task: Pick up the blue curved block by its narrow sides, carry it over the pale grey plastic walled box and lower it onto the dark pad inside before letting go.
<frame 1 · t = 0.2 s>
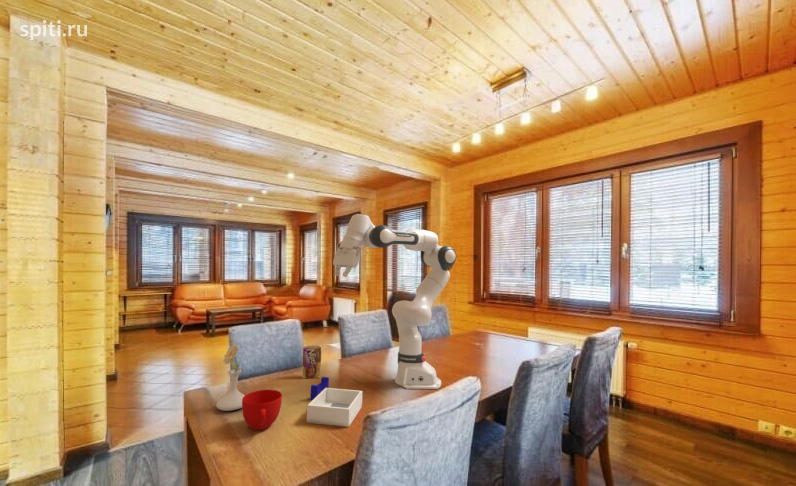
hand: (340, 276, 148), 52 cm above the table, tool tilted 20°, fingers open, 8 cm apart
ceramic cup: (261, 429, 115), on the table
blue curved block: (318, 395, 145), on the table
candy box: (311, 377, 168), on the table
flower in vase: (232, 408, 130), on the table
walled box: (335, 413, 127), on the table
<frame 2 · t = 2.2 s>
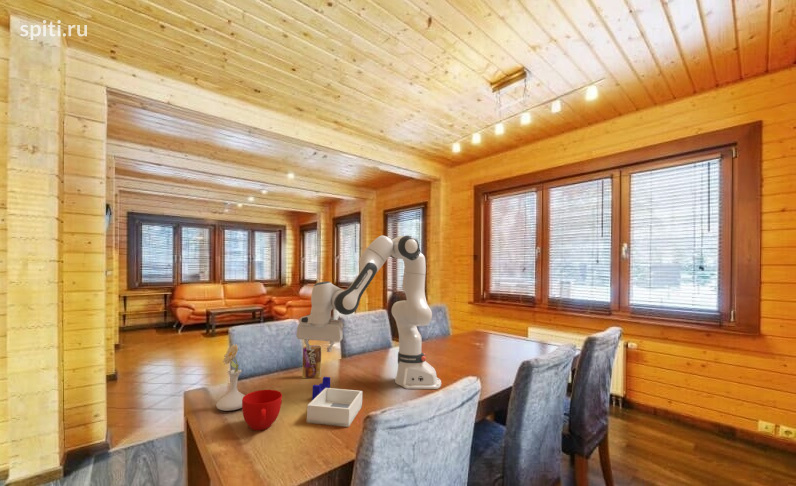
hand: (318, 350, 146), 19 cm above the table, tool pointing down, fingers open, 8 cm apart
nothing on the table moved.
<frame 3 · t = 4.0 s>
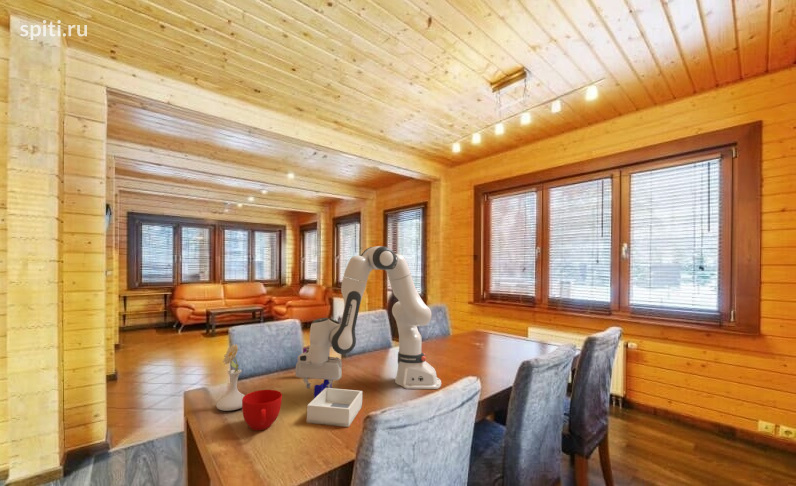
hand: (317, 388, 145), 3 cm above the table, tool pointing down, fingers open, 8 cm apart
blue curved block: (321, 395, 145), on the table, touching gripper
everything else where it was.
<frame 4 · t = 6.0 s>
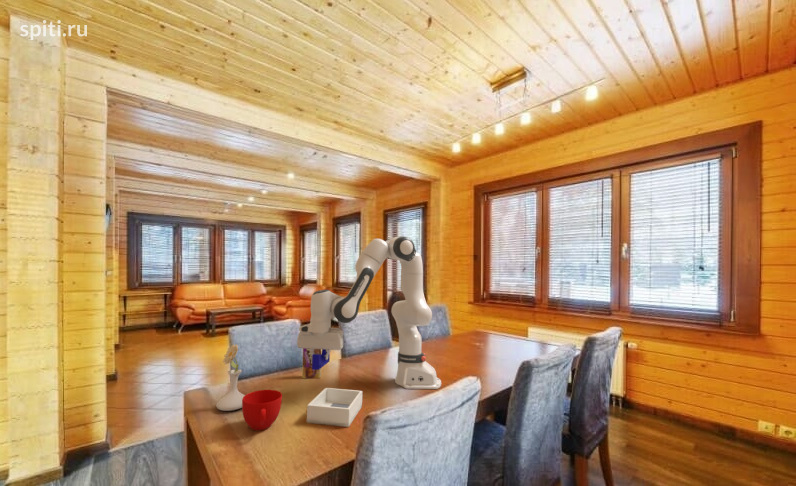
hand: (319, 359, 146), 15 cm above the table, tool pointing down, fingers closed on blue curved block, 4 cm apart
blue curved block: (319, 365, 146), point 12 cm above the table, touching gripper
everything else where it was.
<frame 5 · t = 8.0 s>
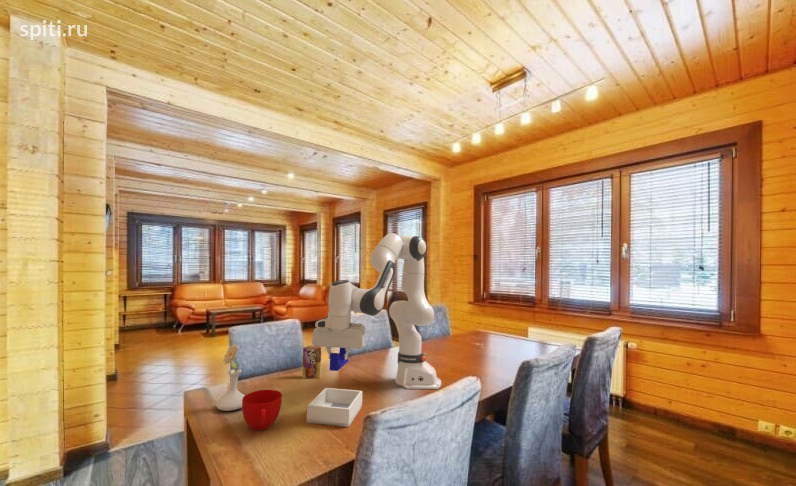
hand: (337, 359, 128), 20 cm above the table, tool pointing down, fingers closed on blue curved block, 4 cm apart
blue curved block: (337, 366, 129), point 18 cm above the table, touching gripper
everything else where it was.
when the fingers open (5 cm above the table, at t = 11.2 s): blue curved block drops 1 cm, resting on walled box.
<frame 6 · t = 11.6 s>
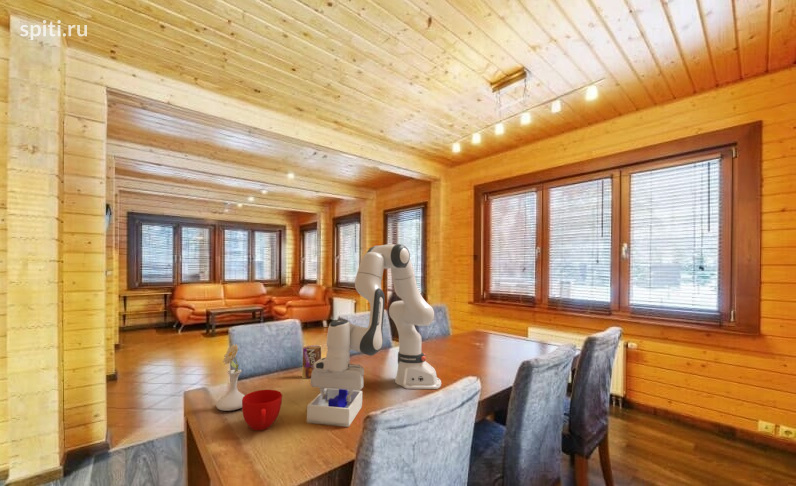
hand: (336, 400, 127), 5 cm above the table, tool pointing down, fingers open, 8 cm apart
blue curved block: (336, 410, 128), point 1 cm above the table, touching walled box
everything else where it was.
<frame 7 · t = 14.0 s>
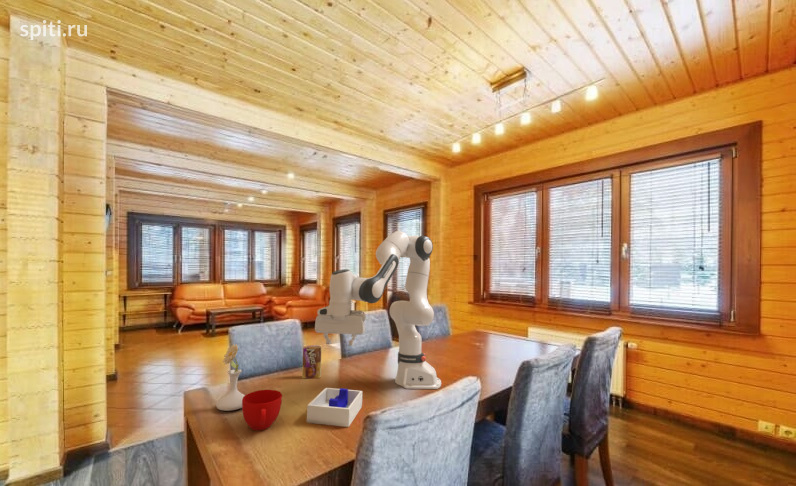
hand: (339, 344, 134), 24 cm above the table, tool pointing down, fingers open, 8 cm apart
nothing on the table moved.
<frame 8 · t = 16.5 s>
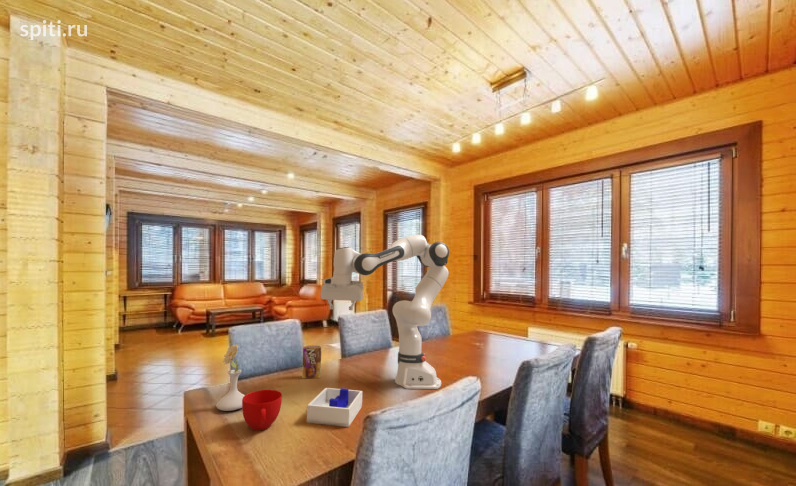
hand: (341, 309, 159), 35 cm above the table, tool pointing down, fingers open, 8 cm apart
nothing on the table moved.
at the end: blue curved block inside the target area on the walled box (0.4 cm from its centre), point 1.0 cm above the walled box's base; blue curved block tilted 0°; the gripper is holding nothing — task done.
